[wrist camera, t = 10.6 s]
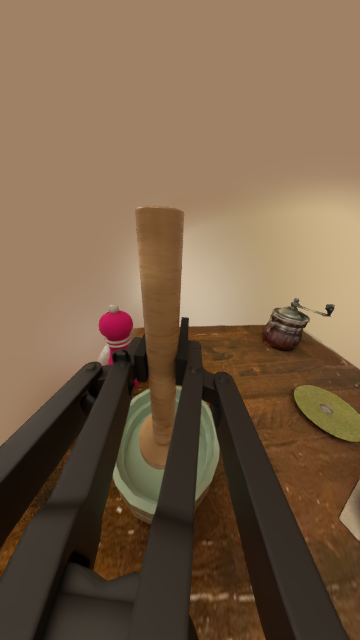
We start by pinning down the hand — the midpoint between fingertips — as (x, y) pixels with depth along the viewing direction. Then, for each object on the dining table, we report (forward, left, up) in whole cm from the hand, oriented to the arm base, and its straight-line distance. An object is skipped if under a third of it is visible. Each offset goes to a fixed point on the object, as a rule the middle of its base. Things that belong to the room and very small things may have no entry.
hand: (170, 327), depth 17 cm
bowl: (+1, -2, -22) cm, 22 cm away
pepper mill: (-15, +3, -22) cm, 27 cm away
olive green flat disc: (+24, +21, -22) cm, 39 cm away
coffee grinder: (+16, +43, -22) cm, 51 cm away
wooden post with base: (+3, -5, -12) cm, 13 cm away
